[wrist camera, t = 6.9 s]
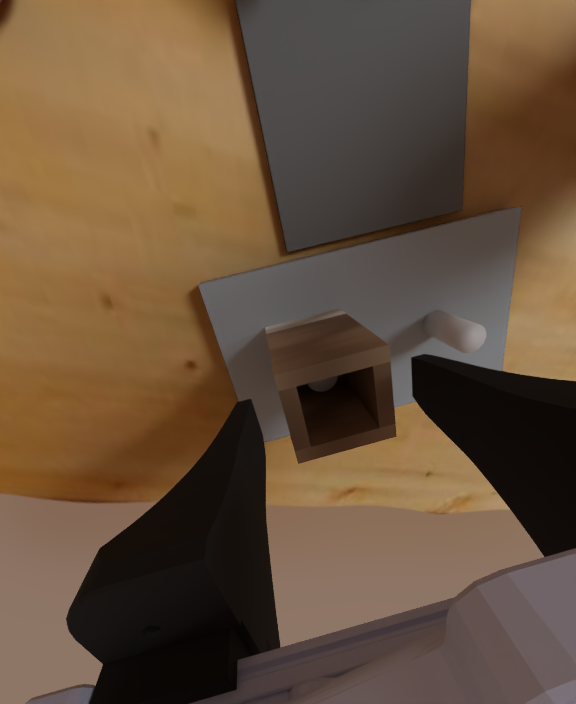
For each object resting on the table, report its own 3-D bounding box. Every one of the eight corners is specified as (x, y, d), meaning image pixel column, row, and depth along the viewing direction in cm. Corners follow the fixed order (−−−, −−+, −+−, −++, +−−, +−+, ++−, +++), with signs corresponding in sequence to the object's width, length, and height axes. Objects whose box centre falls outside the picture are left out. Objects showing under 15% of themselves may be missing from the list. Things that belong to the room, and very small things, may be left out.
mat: (465, -52, 11) (473, -62, 11) (457, 210, 15) (462, 210, 15) (233, -5, 11) (233, -14, 10) (286, 251, 15) (287, 251, 14)
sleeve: (339, 308, 15) (389, 344, 10) (349, 374, 17) (396, 436, 12) (265, 327, 15) (273, 375, 10) (282, 392, 17) (298, 463, 11)
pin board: (505, 208, 15) (585, 197, 12) (489, 372, 20) (544, 401, 16) (201, 282, 15) (184, 295, 11) (253, 435, 19) (254, 481, 15)
